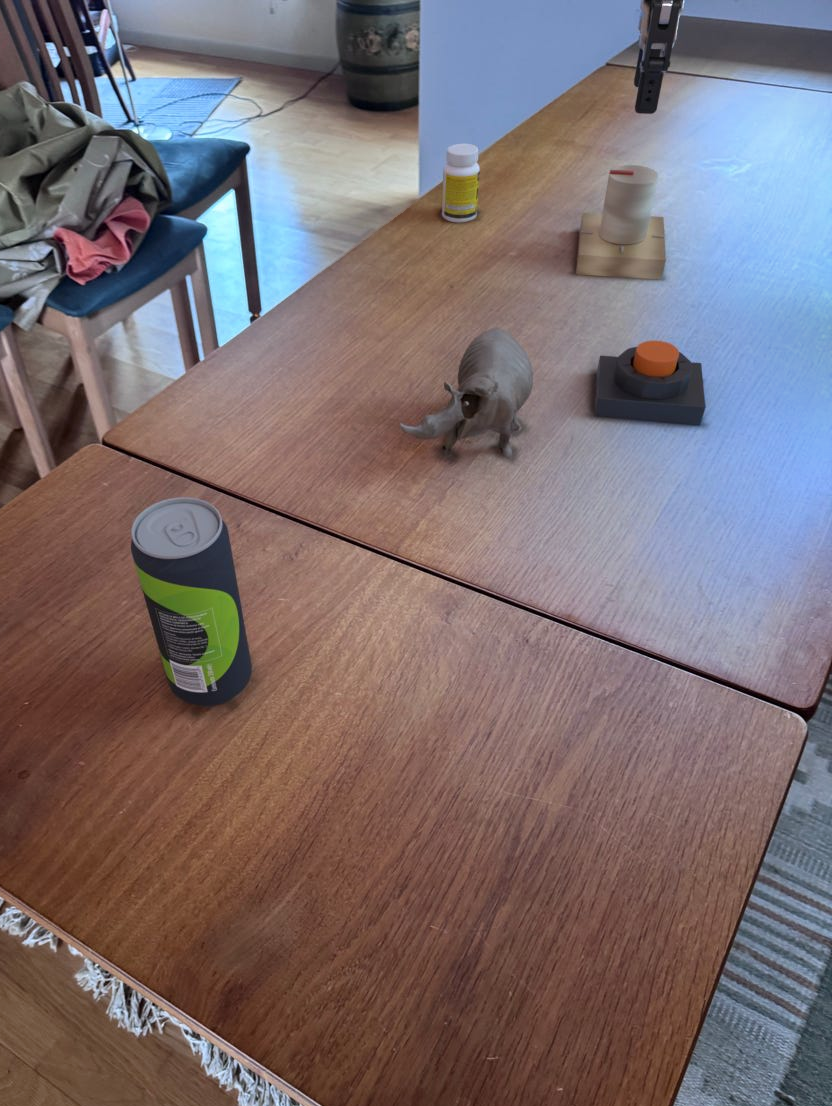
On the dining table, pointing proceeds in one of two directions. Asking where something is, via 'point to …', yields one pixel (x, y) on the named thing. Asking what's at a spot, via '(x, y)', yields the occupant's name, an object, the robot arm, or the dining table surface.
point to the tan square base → (620, 251)
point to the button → (655, 358)
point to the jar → (628, 204)
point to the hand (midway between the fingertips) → (644, 99)
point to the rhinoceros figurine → (483, 393)
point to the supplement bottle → (460, 183)
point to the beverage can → (192, 599)
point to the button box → (649, 391)
